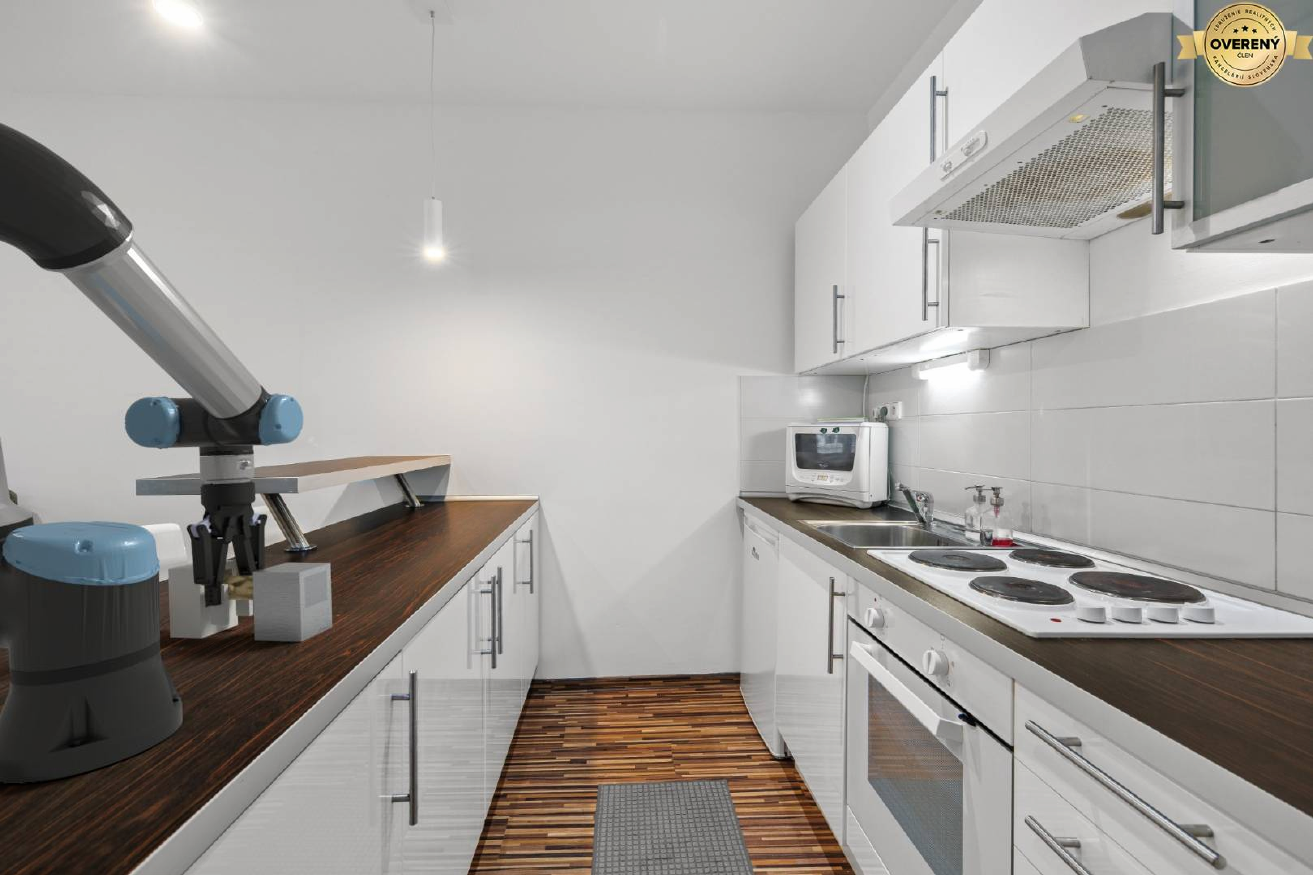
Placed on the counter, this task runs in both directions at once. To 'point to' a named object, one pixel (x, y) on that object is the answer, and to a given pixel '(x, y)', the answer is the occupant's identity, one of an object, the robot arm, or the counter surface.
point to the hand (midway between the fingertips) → (232, 619)
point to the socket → (194, 604)
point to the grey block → (292, 601)
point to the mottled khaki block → (237, 587)
